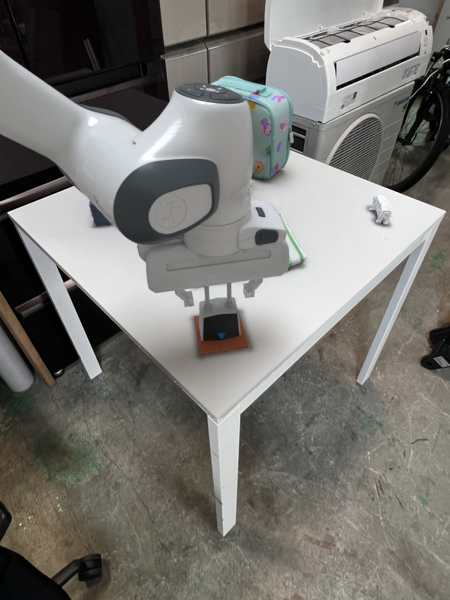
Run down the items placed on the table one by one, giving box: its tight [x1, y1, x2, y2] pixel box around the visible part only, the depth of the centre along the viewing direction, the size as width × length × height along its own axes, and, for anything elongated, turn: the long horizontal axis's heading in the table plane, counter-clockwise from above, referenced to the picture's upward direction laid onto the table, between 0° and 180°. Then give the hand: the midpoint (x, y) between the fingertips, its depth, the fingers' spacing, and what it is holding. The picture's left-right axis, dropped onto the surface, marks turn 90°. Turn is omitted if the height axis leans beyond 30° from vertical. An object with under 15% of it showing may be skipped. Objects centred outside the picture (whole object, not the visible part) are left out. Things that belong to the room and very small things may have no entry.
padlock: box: [198, 283, 241, 341], centre depth 58 cm, size 7×4×15 cm, turn 100°
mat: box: [193, 309, 249, 356], centre depth 63 cm, size 8×8×1 cm
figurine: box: [368, 195, 392, 226], centre depth 85 cm, size 2×8×5 cm, turn 0°
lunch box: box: [210, 75, 295, 180], centre depth 97 cm, size 27×10×21 cm, turn 48°
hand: (218, 299), depth 58 cm, fingers open, 8 cm apart
